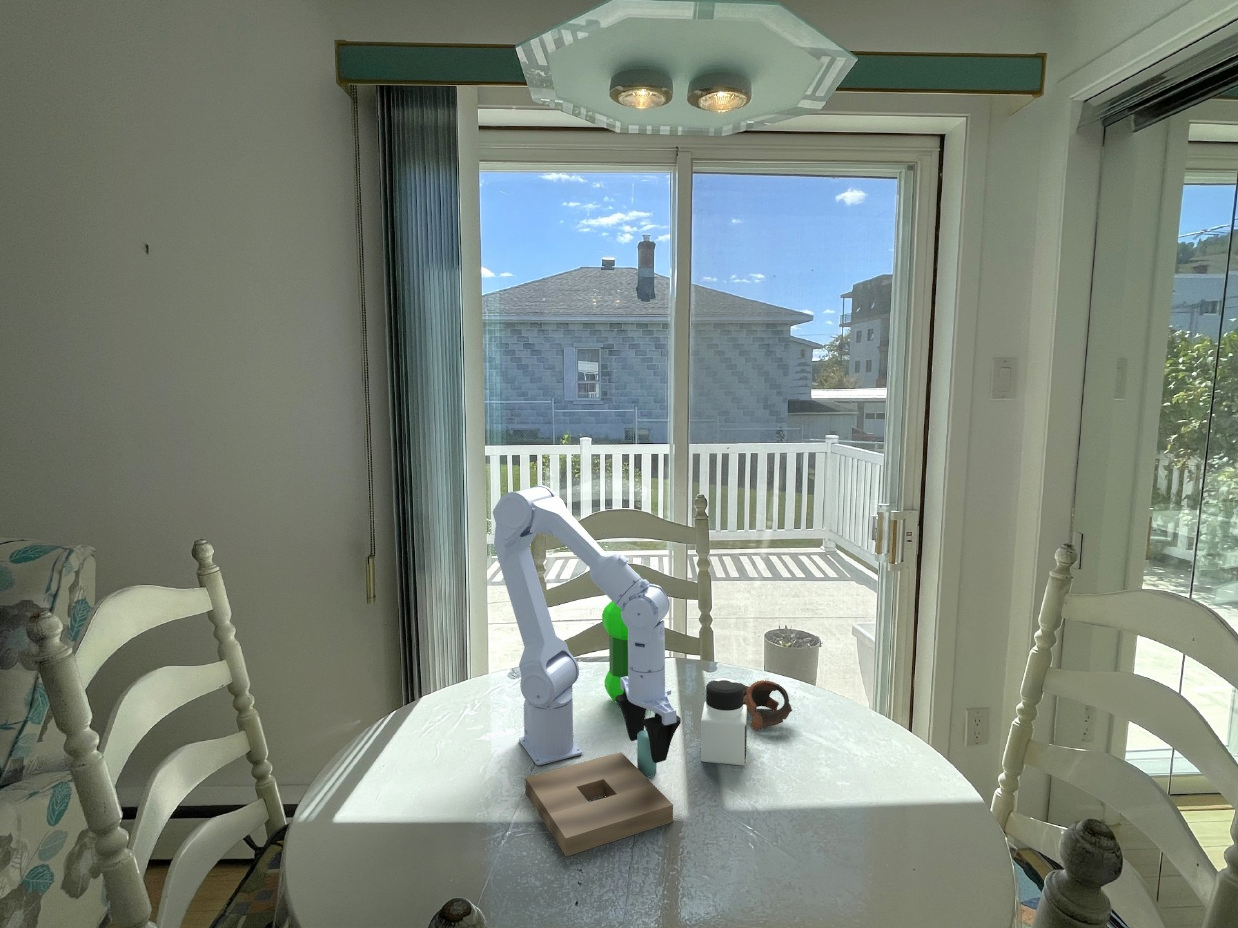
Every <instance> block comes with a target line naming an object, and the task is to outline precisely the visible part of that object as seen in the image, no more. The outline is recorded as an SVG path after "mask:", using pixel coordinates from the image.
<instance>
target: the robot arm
mask: <svg viewBox="0 0 1238 928" xmlns="http://www.w3.org/2000/svg"><path fill="white" fill-rule="evenodd" d="M492 515H493V519H494V522H495V528H494V541H493V545H494V546H493V547H494V550H495V554H496V556H497V560H498V565H499V566H500V569H501V573H502V576H503V577H502V578H503V580H504V583H505V586H506V591H507V593H508V597H509V600H510V604H511V607H512V610H513V613H514V616H515V620H516V623H517V626H518V630H519V633H520V634H519V635H520V637H521V639H522V640H521V641H522V644H523V646H524V647H523V651H522V655H521V658H520V661H519V663H518V668H519V670H520V684H519V685H520V692H521V694H522V696H523V698H524V702H523V727H524V728H523V730H524V731H523V732H524V734H523V735H524V736H521V737H519V738H518V741H519V742H520V744H521V745H522V747H523V748H524V750H525V752H526V753H527V754H528V755H529V757H530V758H531V760H532V761H533V762H534V764H535V765H536V766H542V765H546V764H550V763H555V762H557V761H558V762H559V761H562V760H566V759H570V758H573V757H577V756H581V755H582V754H583V750H582V749H581V748H580V747H579V745H577V743H576V742H575V741H574V714H573V713H574V708H573V705H574V704H573V685H574V684H575V683H576V682H577V681H578V678H579V677H580V676H579V675H580V667H579V665H578V664H579V663H578V662H577V660H576V658H575V657H574V656H573V655H572V653H571V652H570V650H569V648H568V647H569V646H568V645H567V642H566V641H564V640H563V639H562V638H559V636H557V635H556V631H555V628H554V623H553V622H552V617H551V614H550V612H549V611H550V610H549V608H548V605H547V604H548V603H547V601H546V598H545V595H544V591H543V588H542V584H541V581H540V577H539V574H538V572H537V571H538V570H537V567H536V565H535V561H534V558H533V555H532V551H531V547H530V546H531V544H532V543H533V540H534V539H535V537H537V536H536V535H537V534H538V535H539V534H540V535H541V534H542V535H552V536H554V537H555V538H556V539H557V540H559V542H560V543H562V544H563V546H565V547H566V548H567V549H568V550H569V551H570V552H572V554H574V555H575V556H576V557H577V558H578V559H579V560H581V562H583V563H584V564H585V565H586V566H587V567H589V577H590V581H592V582H593V583H594V585H596V586H597V587H598V588H599V589H600V590H601V591H602V592H603V593H604V595H606V596H607V597H608V598H609V599H610V600H611V601H613V602H614V603H615V604H616V605H617V606H618V607H619V608H620V609H621V610H622V611H621V617H622V620H623V622H624V624H625V625H626V626H627V628H628V676H626V677H621V678H620V684H621V689H622V690H623V691H624V692H623V694H621V695H618V696H616V701H617V703H618V704H617V703H616V704H617V706H618V707H619V709H620V711H621V713H622V716H623V719H624V723H625V727H626V732H627V735H628V739H629V740H630V741H631V742H634V741H637V734H638V733H639V732H640V731H644V730H647V733H648V737H649V742H650V750H651V757H652V760H653V762H654V763H656V764H658V763H661V762H665V761H666V760H667V758H668V755H669V750H670V747H671V743H672V740H673V737H674V735H675V733H676V731H677V729H678V728H679V726H680V724H681V720H682V719H681V717H680V716H679V715H677V710H676V709H675V707H674V706H673V705H672V702H671V700H670V698H669V696H671V695H672V689H671V688H670V687H668V686H666V636H665V620H664V618H666V616H667V614H668V613H669V612H670V611H669V610H670V599H669V597H668V595H667V594H666V592H665V591H664V589H663V588H662V586H659V585H657V584H654V583H650V582H649V580H648V579H647V578H645V579H644V578H643V577H642V576H641V577H640V576H639V575H638V574H639V573H638V574H637V572H636V571H635V570H634V569H633V568H632V567H631V565H629V564H628V562H629V559H628V558H627V557H626V556H625V555H619V554H618V553H616V552H606V551H605V550H604V549H602V548H603V547H601V546H600V545H599V543H597V542H596V541H595V539H594V538H593V537H592V536H591V535H590V534H589V533H588V532H587V530H586V529H585V528H584V527H583V525H581V524H580V523H579V521H577V519H576V518H575V517H574V516H573V515H572V513H570V511H569V510H568V509H567V506H566V504H565V502H564V501H563V499H561V498H560V497H559V496H558V495H557V496H556V494H555V493H554V492H553V490H552V489H551V488H549V487H548V486H545V485H542V484H541V485H540V484H538V485H534V486H532V487H530V488H526V489H522V490H517V491H510V492H506V493H505V494H503V495H502V496H501V497H500V499H499V500H498V502H497V504H496V505H495V507H494V508H493V509H492ZM647 710H648V711H650V712H653V713H654V714H653V715H654V716H650V717H648V718H646V713H647Z"/></svg>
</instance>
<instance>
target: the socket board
mask: <svg viewBox="0 0 1238 928" xmlns="http://www.w3.org/2000/svg"><path fill="white" fill-rule="evenodd" d="M524 784H525V785H524V788H525V789H524V791H525V794H526V796H527V798H528V799H529V801H530V803H531V804H532V805H533V807H534V808H535V810H536V812H537V813H538V815H539V817H540V818H541V820H542V821H543V823H544V824H545V826H546V828H547V830H548V831H549V832H550V833H551V835H552V837H553V839H554V840H555V842H556V843H557V845H558V847H559V848H560V850H561V851H562V853H563V854H564V856H565V857H570V856H572V855H573V856H574V855H576V854H578V853H581V852H584V851H588V850H590V849H594V848H596V847H600V846H604V845H607V844H609V843H612V842H615V841H618V840H619V841H620V840H621V839H624V838H628V837H630V836H634V835H637V834H641V833H643V832H646V831H649V830H652V829H655V828H658V827H660V826H665V825H667V824H670V823H674V804H673V803H672V802H671V800H669V799H668V797H666V796H665V795H664V794H663V793H662V791H660V790H659V788H657V787H656V785H654V784H653V782H652V781H650V780H649V779H648V777H645V775H644V774H643V773H642V772H641V771H640V770H639V769H638V768H637V766H636V765H635V764H634V763H633V762H632V761H631V760H630V759H629V758H628V757H627V756H626V755H625V754H624V753H623V752H622V751H621V752H620V751H619V752H615V753H612V754H608V755H607V754H606V755H604V756H599V757H596V758H593V759H590V760H585V761H581V762H578V763H573V764H570V765H567V766H562V767H559V768H555V769H552V770H547V771H543V772H540V773H536V774H532V775H528V776H525V777H524ZM602 796H604V797H603V798H599V797H602ZM595 798H599V799H597V800H594V801H593V800H592V801H588V800H591V799H595Z"/></svg>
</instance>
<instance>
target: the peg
mask: <svg viewBox="0 0 1238 928" xmlns="http://www.w3.org/2000/svg"><path fill="white" fill-rule="evenodd" d="M636 743H637V745H636V746H637V747H636V751H637V753H636V754H637V755H636V756H637V757H636V758H637V761H636V762H637V766H636V767H637V768H638V769H639V770H640V771H641V772H642V773H643V774H644V775H645V777H646V778H648V777H653V776H655V775H656V774H657V763H654V762H653V760H652V757H651V750H650V742H649V737H648V733H647V730H646V729H644V731H640V732H639V733H638V734H637V740H636Z"/></svg>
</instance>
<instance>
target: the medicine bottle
mask: <svg viewBox="0 0 1238 928" xmlns="http://www.w3.org/2000/svg"><path fill="white" fill-rule="evenodd" d="M740 683H741V682H739V681H736V680H734V679H730V678H716V679H712V680H710V681H709V682H708V683H706V686H705V701H704V703H703V708H702V713H701V714H702V715H701V720H700V761H701V762H704V763H712V764H723V765H734V766H742V767H743V766H745V765H747V747H748V746H747V741H748V740H747V737H748V735H747V734H748V730H747V728H748V710H747V706H746V705H744V704H743V686H742V685H741V684H740Z"/></svg>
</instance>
